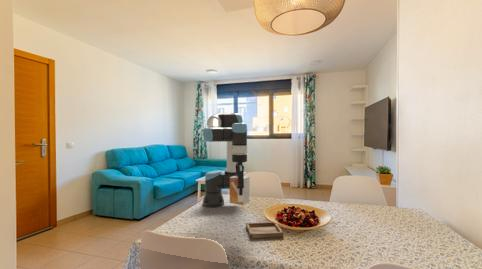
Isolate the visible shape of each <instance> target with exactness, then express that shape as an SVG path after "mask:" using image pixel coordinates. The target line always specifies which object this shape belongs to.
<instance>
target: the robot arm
mask: <svg viewBox="0 0 482 269" xmlns="http://www.w3.org/2000/svg"><path fill="white" fill-rule="evenodd" d="M206 126H207V127H204V128H203V132H202V133H203V136H202V138H203V142H209V143H211V142H213V143H216V142H226V168H225V169H224V172H223V171H222V170H219V169H217V170H212V171H208V172H206V173H205V176H204V178H205V179H204V181H205V183H204V184H205V185H204V190H205V191H204V196H203V199H202V206H204V207H207V208H218V207H221V206H223V205H224V204H225V199H224V197H223V192H222V190H230V177H233V176H238V187H237V188H238V202H244V195H243V188H244V176H245V174H244V173H245V172H244V171H245V170H244V169H245V166H244V165H243V163H247V161H248V154H247V153H248V125H247V123H245V122H244V121H243V115H242V114H241V113H236V112H231V113H230V112H219V113H215V114H213V115H210V116H209V118H208V119H207V120H206Z"/></svg>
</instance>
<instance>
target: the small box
mask: <svg viewBox="0 0 482 269" xmlns="http://www.w3.org/2000/svg"><path fill="white" fill-rule="evenodd" d="M237 187H238V176H233V177H230V189H229V203H230V204H234V205H238V206H242V207H243V206H245V205H247V204H249V203H250V176H245V175H244V188H243V195H244V202H238V188H237Z"/></svg>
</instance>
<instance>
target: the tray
mask: <svg viewBox="0 0 482 269" xmlns="http://www.w3.org/2000/svg"><path fill="white" fill-rule="evenodd" d="M272 222H273V221H264V222H262V221H261V222H247V223H246V224H245V225H246V228H245V229H246V230H247V233H248V236H249V239H250V240H252V241H253V240H263V239H264V240H266V239H281V238H282V239H283V238H284V231H283V230H282V229H281V227H280V226H279V225H278V223H277V224H274V223H272Z"/></svg>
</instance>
